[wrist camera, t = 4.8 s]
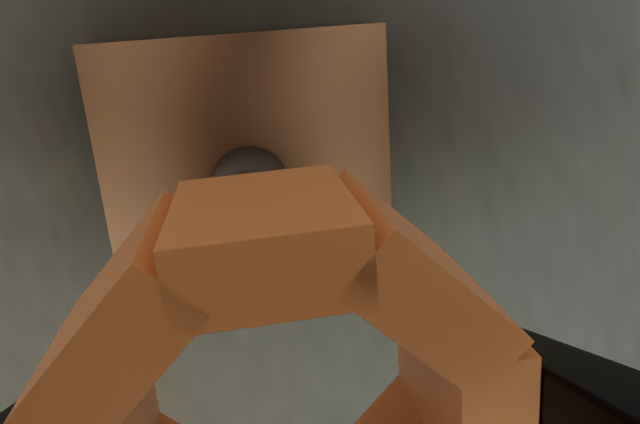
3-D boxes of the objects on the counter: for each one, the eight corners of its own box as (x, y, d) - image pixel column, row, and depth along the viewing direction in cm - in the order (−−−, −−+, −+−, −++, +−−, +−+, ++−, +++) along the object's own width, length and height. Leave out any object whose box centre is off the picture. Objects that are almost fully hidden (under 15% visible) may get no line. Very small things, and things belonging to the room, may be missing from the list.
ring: (449, 150, 9) (547, 201, 6) (453, 467, 11) (531, 617, 8) (45, 196, 8) (-52, 277, 6) (124, 525, 10) (81, 711, 7)
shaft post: (374, 23, 18) (468, 13, 11) (384, 279, 21) (464, 415, 13) (86, 44, 17) (-35, 49, 10) (135, 309, 20) (70, 474, 12)
